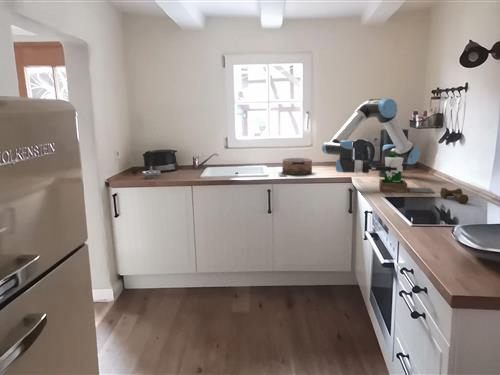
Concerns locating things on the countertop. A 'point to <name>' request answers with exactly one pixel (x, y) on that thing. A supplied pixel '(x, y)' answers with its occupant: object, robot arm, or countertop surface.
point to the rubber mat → (420, 190)
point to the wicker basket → (297, 166)
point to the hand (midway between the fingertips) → (401, 167)
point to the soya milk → (393, 175)
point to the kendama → (455, 195)
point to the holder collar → (393, 186)
